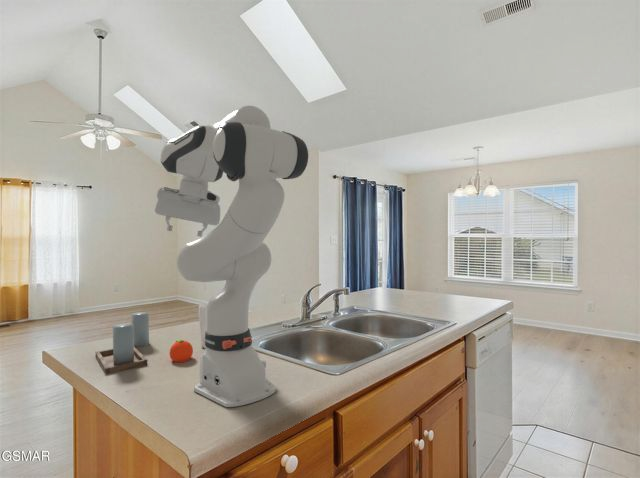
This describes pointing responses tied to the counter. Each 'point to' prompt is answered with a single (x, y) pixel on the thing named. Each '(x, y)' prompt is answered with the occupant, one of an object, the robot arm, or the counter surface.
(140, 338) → the post
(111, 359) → the tray
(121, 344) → the grey tall cylinder
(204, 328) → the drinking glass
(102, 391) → the counter surface
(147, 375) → the counter surface
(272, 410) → the counter surface
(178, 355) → the clementine
